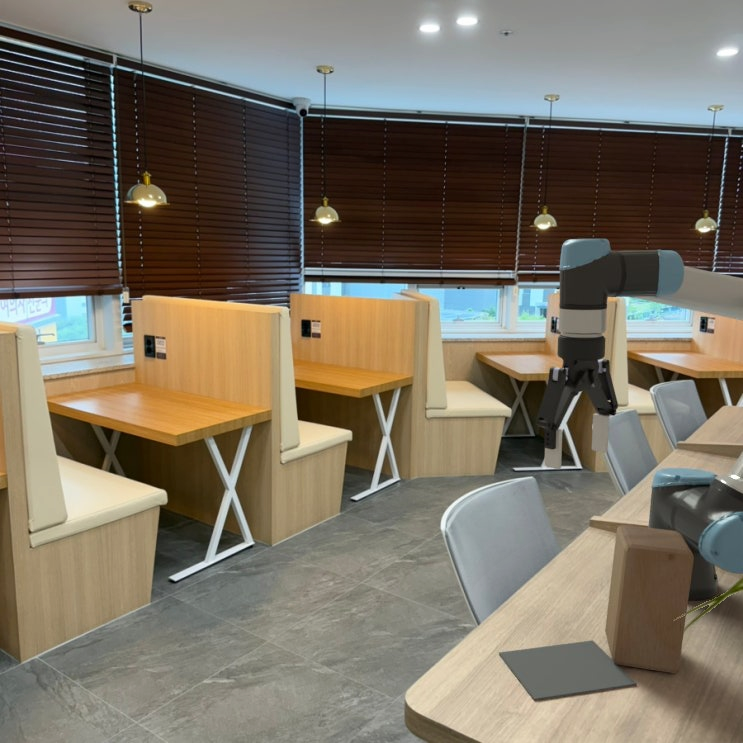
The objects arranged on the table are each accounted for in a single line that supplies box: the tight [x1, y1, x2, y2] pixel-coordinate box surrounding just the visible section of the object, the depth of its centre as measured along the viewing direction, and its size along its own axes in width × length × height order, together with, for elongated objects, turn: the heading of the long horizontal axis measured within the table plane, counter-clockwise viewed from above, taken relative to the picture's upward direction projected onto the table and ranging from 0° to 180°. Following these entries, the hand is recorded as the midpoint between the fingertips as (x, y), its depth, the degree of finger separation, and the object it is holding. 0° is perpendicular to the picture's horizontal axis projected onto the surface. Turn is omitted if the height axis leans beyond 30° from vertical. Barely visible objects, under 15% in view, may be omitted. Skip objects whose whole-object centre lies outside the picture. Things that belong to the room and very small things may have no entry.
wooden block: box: [604, 524, 694, 674], centre depth 110 cm, size 10×10×20 cm
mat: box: [498, 640, 638, 701], centre depth 107 cm, size 17×12×1 cm
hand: (577, 459), depth 117 cm, fingers open, 13 cm apart
